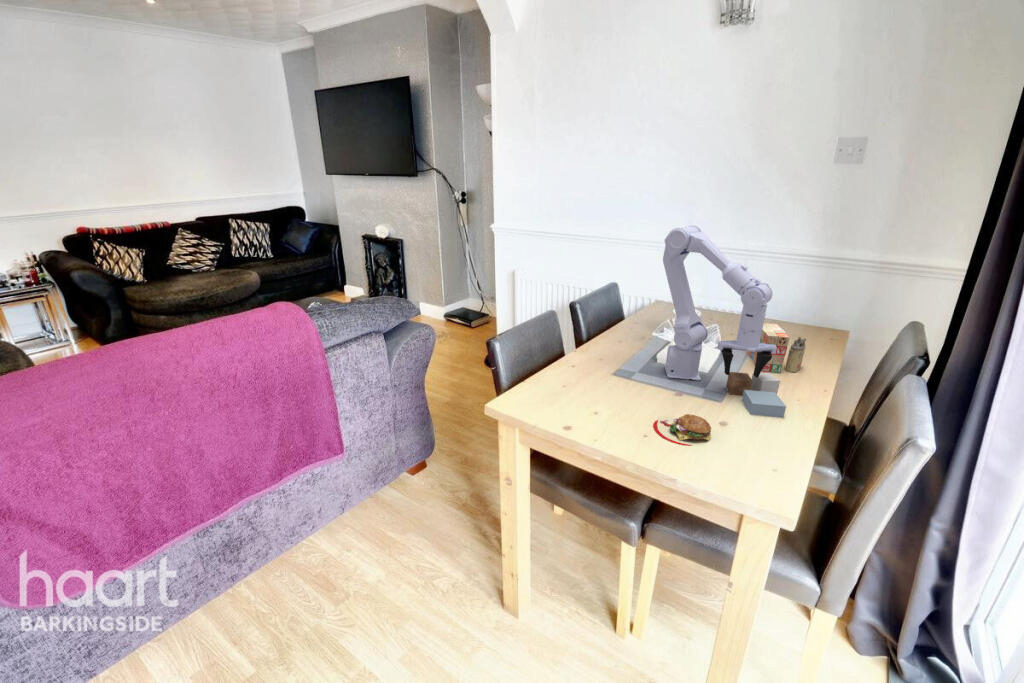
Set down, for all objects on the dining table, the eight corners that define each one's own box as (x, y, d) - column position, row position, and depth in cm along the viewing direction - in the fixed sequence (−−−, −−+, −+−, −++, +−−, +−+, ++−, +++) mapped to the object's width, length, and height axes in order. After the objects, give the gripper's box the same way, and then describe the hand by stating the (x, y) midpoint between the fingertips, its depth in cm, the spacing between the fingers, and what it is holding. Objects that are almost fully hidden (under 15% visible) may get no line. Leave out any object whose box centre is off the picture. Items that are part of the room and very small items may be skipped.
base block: (750, 415, 124) (752, 403, 122) (741, 401, 131) (743, 389, 130) (783, 418, 123) (786, 406, 121) (772, 404, 130) (775, 392, 129)
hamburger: (699, 417, 123) (703, 396, 121) (723, 448, 110) (728, 425, 108) (645, 416, 122) (648, 395, 120) (663, 447, 109) (666, 424, 107)
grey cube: (759, 397, 133) (762, 381, 131) (749, 389, 138) (752, 373, 136) (776, 397, 133) (780, 380, 132) (765, 388, 138) (769, 373, 136)
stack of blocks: (742, 347, 169) (749, 314, 164) (761, 348, 168) (769, 315, 163) (759, 372, 149) (767, 334, 145) (781, 374, 148) (790, 336, 144)
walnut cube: (729, 395, 134) (733, 379, 132) (725, 387, 138) (728, 371, 137) (749, 397, 133) (752, 380, 131) (744, 389, 138) (747, 373, 136)
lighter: (795, 373, 148) (803, 343, 145) (782, 370, 151) (789, 340, 147) (801, 367, 153) (809, 337, 149) (788, 363, 155) (795, 334, 152)
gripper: (725, 331, 126) (716, 378, 131) (784, 335, 124) (773, 383, 129) (719, 323, 133) (711, 368, 138) (775, 327, 130) (765, 372, 135)
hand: (741, 374), depth 134 cm, fingers open, 7 cm apart
